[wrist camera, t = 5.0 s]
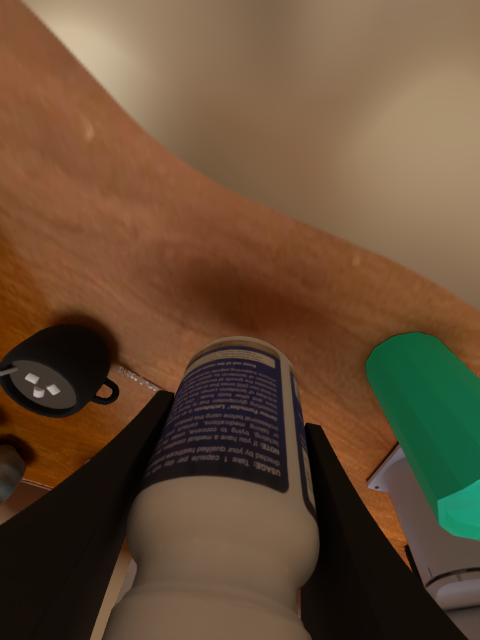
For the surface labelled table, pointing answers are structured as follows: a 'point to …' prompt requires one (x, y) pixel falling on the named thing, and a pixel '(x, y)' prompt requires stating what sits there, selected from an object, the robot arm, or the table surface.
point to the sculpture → (10, 471)
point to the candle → (433, 423)
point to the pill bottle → (224, 506)
